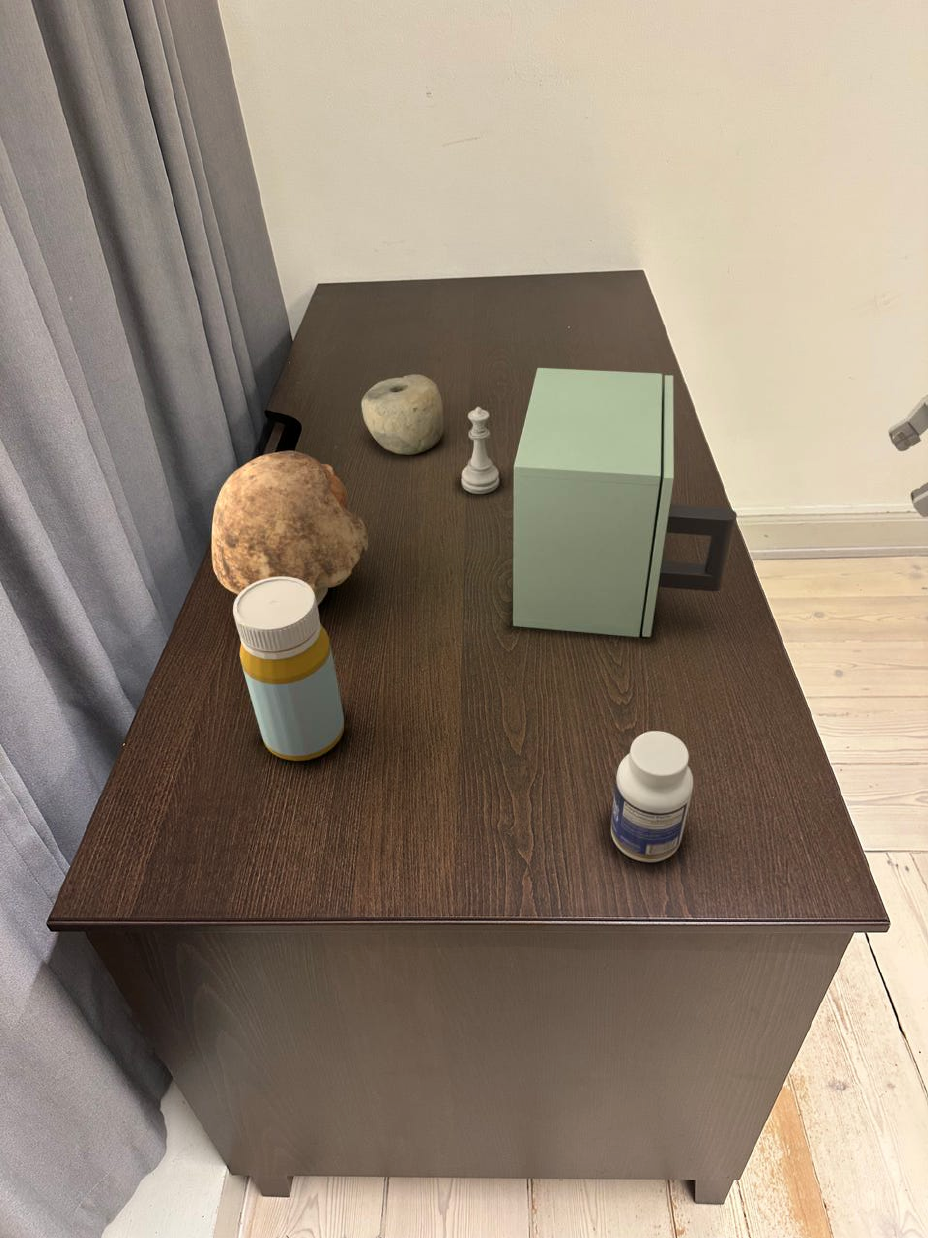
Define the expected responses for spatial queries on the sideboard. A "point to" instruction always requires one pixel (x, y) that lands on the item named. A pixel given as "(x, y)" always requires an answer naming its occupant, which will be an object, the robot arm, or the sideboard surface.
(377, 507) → the sideboard surface
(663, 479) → the fridge door
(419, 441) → the stone
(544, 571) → the mini fridge
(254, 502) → the tan rounded lump
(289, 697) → the bottle
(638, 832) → the pill bottle
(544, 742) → the sideboard surface
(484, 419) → the chess piece
